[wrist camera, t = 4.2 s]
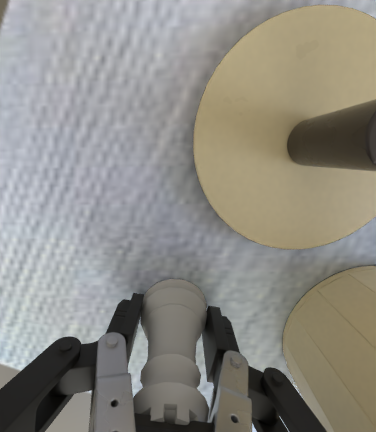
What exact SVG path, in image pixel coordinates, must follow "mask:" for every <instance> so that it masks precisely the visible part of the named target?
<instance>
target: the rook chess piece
mask: <svg viewBox="0 0 376 432" xmlns="http://www.w3.org/2000/svg"><path fill="white" fill-rule="evenodd" d="M206 308H207V303H206V300H205V297H204V294H203V293H202V292H201V291H200V290H199V289H198V287H197V286H196V285H194V284H192V283H190V282H188V281H185V280H181V279H168V280H164V281H161V282H158V283H156V284H155V285H154V286H152V287H151V288H150V289H148V291H147V292H146V294H145V296H144V300H143V305H142V308H141V319H140V321H141V325H142V328H143V330H144V333H145V335H146V337H147V340H148V360H147V363H146V364H145V366H144V368H143V369H142V371H141V380H140V381H141V383H142V386H143V388H142V389H141V390H140V391H139V392H138V393H137V394H136V395H135V396H134V398H133V406H134V413H139V414H147V415H151V421H157V422H164V421H165V422H167V423H170V424H180V425H188V424H189V423H190V422H189V421H201V422H207V421H208V416H209V407H208V404H207V402H206V399H205V397H204V396H203V395H202V394H201V393H200V392H199V391H198V390H197V387H198V386H199V384H200V378H201V374H200V371H199V369H198V366H197V365H196V360H195V354H196V343H197V341H198V339H199V338H200V336H201V333H202V332H203V330H204V329H205V325H206V319H207V311H206Z"/></svg>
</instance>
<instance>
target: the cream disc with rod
mask: <svg viewBox="0 0 376 432" xmlns="http://www.w3.org/2000/svg"><path fill="white" fill-rule="evenodd" d="M193 153H194V163H195V168H196V172H197V176H198V179H199V182H200V185H201V187H202V190H203V192H204V194H205V196H206V198H207V199H208V201H209V203H210V205H211V206H212V207H213V209H214V210H215V212H216V213H217V214H218V216H219V217H220V218H221V219H222V220H223V221H224V222H225V223H226V224H227V225H228V226H230V227H231V228H232V229H233V230H235V231H236V232H237V233H239V234H240V235H242V236H244V237H246V238H247V239H249V240H252V241H254V242H256V243H259V244H262V245H265V246H269V247H273V248H280V249H307V248H314V247H318V246H322V245H326V244H329V243H332V242H335V241H337V240H340V239H342V238H344V237H346V236H348V235H350V234H352V233H353V232H355V231H357V230H358V229H360V228H361V227H363V226H364V225H366V224H367V223H368V222H369V221H371V220H372V219H373V218H374V217H376V19H375V18H373V17H372V16H370V15H368V14H366V13H363V12H361V11H358V10H355V9H353V8H348V7H343V6H338V5H313V6H305V7H300V8H297V9H293V10H290V11H286V12H283V13H281V14H279V15H277V16H274V17H272V18H270V19H268V20H266V21H265V22H263V23H262V24H260V25H258V26H257V27H255V28H254V29H252V30H251V31H250V32H249V33H247V34H246V35H245V36H244V37H243V38H241V39H240V40H239V41H238V42H237V43H236V44H235V45H234V46H233V47H232V48H231V50H230V51H229V52H228V53H227V54H226V55H225V57H224V58H223V59H222V61H221V62H220V63H219V65H218V66H217V68H216V69H215V71H214V73H213V75H212V76H211V78H210V80H209V82H208V84H207V86H206V88H205V91H204V93H203V96H202V98H201V101H200V104H199V108H198V111H197V115H196V119H195V126H194V133H193Z"/></svg>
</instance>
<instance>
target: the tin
mask: <svg viewBox="0 0 376 432" xmlns="http://www.w3.org/2000/svg"><path fill="white" fill-rule="evenodd" d="M283 353H284V357H285V360H286V363H287V367H288V369H289V371H290V373H291V375H292V377H293V379H294V381H295V383H296V385H297V387H298V389H299V391H300V393H301V395H302V397H303V399H304V401H305V402H306V404H307V405H308V406H309V408H310V409H311V410H312V412H313V413H314V415H315V416H316V417H317V419H318V420H319V421H320V423H321V424H322V425H323V427H324V428H325V429H326V431H327V432H376V266H363V267H357V268H352V269H348V270H345V271H342V272H340V273H337V274H335V275H333V276H331V277H329V278H327V279H325V280H323V281H322V282H320V283H319V284H317V285H316V286H315V287H313V288H312V289H311V290H309V291H308V292H307V293H306V294H305V295H304V296H303V297H302V298H301V299H300V301H299V302H298V303H297V304H296V306H295V307H294V309H293V310H292V312H291V314H290V315H289V318H288V320H287V322H286V325H285V328H284V333H283Z"/></svg>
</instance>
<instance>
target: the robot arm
mask: <svg viewBox="0 0 376 432" xmlns="http://www.w3.org/2000/svg"><path fill="white" fill-rule="evenodd" d="M143 300H144V294H138V293H133V296H132V299H131V300H125V299H124V300H122V301H121V302H120V303H119V304H118V306H117V308H116V311H115V313H114V316H113V318H112V320H111V322H110V325H109V327H108V329H107V332H106V334H105V335H103V336H102V337H101V338H100V339H99V340H98V341H96V342H94V343H89V344H81V342H80V341H79V340H78V339H77V338H75V337H63V338H60V339H58V340H56V341H55V342H54V343H53V344H51V345H50V346H49V347H48V348H47V349H46V350H45V351H44V352H42V353H41V354H40V355H39V356H38V357H37V358H36V359H34V360H33V361H32V362H31V363H30V364H29V365H28V366H26V367H25V368H24V369H23V370H22V371H21V372H20V373H18V374H17V375H16V376H15V377H14V378H13V379H12V380H10V381H9V382H8V383H7V384H6V385H5V386H4V387H3V388H1V389H0V432H45V431H46V429H47V428H48V427H49V426H50V425H51V423H52V422H53V421H54V419H55V418H56V417H57V416H58V414H59V413H60V412H61V410H62V409H63V408H64V407H65V405H66V404H67V403H68V402H69V400H70V399H71V398H72V396H73V395H74V394H75V393H80V392H85V391H90V390H92V396H91V410H90V423H89V432H252V423H253V425H254V427H255V429H256V431H257V432H288V430H289V432H327V431H326V429H325V428H324V427H323V425H322V424H321V423H320V421H319V420H318V419H317V417H316V416H315V415H314V413H313V412H312V410H311V409H310V408H309V406H308V405H307V404H306V402H305V401H304V400H303V398H302V397H301V396H300V394H299V393H298V392H297V390H296V389H295V388H294V386H293V385H292V384H291V382H290V381H289V379H288V378H287V377H286V376H285V375H284V374H283V373H282V372H281V371H279V370H277V369H275V368H271V367H270V368H266V369H265V370H264V373H263V372H261V371H259V370H256V369H254V368H252V367H250V366H249V365H248V362H247V360H246V358H245V357H244V356H243V355H241V354H240V352H239V349H238V345H237V342H236V338H235V335H234V331H233V328H232V325H231V322H230V321H229V320H228V318H227V317H225V316H222V315H221V311H220V308H219V307H213V306H208V308H207V319H206V325H205V329H204V330H203V332H202V338H203V347H204V356H205V365H206V374H207V382H212V383H213V384H214V389H213V392H212V396H211V402H210V408H209V416H208V421H207V422H201V421H189V422H190V423H189V424H188V425H180V424H170V423H167V422H165V421H164V422H157V421H151V415H147V414H139V413H134V406H133V394H132V383H131V375H130V373H128V364H129V360H130V356H131V352H132V348H133V344H134V340H135V336H136V332H137V329H138V325H139V320H140V316H141V308H142V305H143ZM279 416H280V417H281V419H282V420H283V422H284V424H285V425H286V427H287V428H288V430H287V428H286V427H285V425H284V424H283V422H282V420H281V419H280V417H279Z"/></svg>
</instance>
